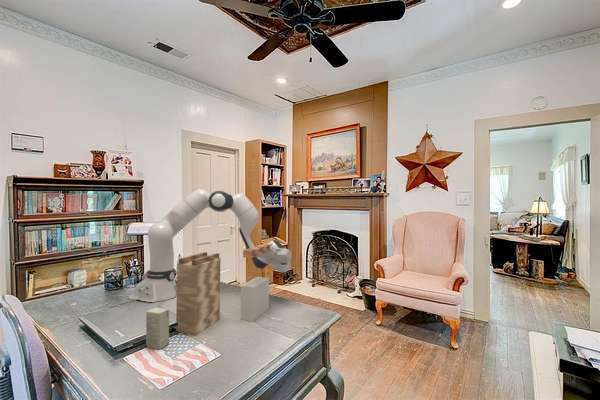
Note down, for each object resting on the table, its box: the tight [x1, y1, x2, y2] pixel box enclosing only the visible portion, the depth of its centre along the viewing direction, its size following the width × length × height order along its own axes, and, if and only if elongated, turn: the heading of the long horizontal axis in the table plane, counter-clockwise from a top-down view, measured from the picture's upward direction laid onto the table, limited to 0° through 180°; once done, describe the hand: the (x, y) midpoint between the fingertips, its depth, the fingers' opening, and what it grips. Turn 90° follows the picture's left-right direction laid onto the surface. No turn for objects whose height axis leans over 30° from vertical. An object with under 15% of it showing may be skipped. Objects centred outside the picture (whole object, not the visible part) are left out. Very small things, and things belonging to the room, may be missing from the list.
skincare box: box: [145, 306, 170, 350], centre depth 98 cm, size 6×4×12 cm
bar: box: [242, 243, 272, 259], centre depth 128 cm, size 20×4×3 cm, turn 161°
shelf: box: [239, 276, 270, 323], centre depth 126 cm, size 15×6×14 cm, turn 161°
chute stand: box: [175, 251, 221, 337], centre depth 113 cm, size 15×9×28 cm, turn 161°
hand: (264, 247), depth 134 cm, fingers closed on bar, 4 cm apart
